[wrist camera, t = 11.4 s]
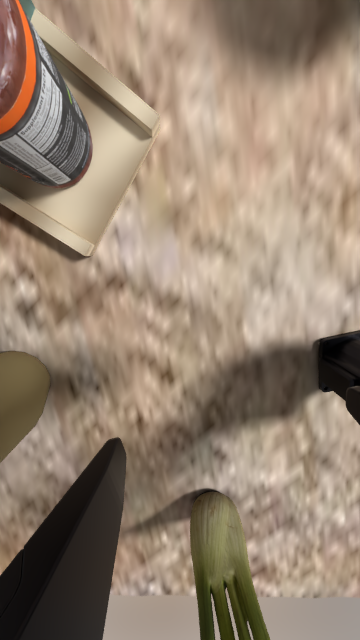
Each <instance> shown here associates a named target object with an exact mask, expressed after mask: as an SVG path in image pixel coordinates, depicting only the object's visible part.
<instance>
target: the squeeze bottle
mask: <svg viewBox="0 0 360 640" xmlns="http://www.w3.org/2000/svg"><path fill="white" fill-rule="evenodd" d="M49 388H50V375H49V373H48V371H47V369H46V367H45V366H44V365H43V364H42V363H41V362H40V361H39V360H38V359H37V358H36V357H33V356H31V355H29V354H27V353H25V352H17V351H8V352H3V353H0V463H1V462H2V460H3V459H4V458H5V457H6V456H7V455H8V454H9V453H10V452H11V451H12V450H13V449H14V448H15V447H16V446H17V445H18V443H19V442H20V441H21V440H22V439H23V438H24V437H25V436H26V435H27V434H28V433H29V432H30V431H31V430H32V429H33V428H34V427H35V425H36V423H37V422H38V420H39V418H40V416H41V414H42V412H43V409H44V405H45V402H46V398H47V395H48V391H49Z"/></svg>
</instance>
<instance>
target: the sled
mask: <svg viewBox="0 0 360 640" xmlns="http://www.w3.org/2000/svg"><path fill="white" fill-rule="evenodd" d="M19 1H20V3H21V5H22V7H23V9H24V11H25V12H26V14H27V16H28V17H29V19H30V21H31V23H32V24H33V26H34V28H35V30H36V31H37V33H38V35H39V37H40V39H41V40H42V42H43V44H44V45H45V47H46V49H47V51H48V52H49V54H50V56H51V57H52V59H53V61H54V63H55V65H56V66H57V68H58V70H59V72H60V74H61V75H62V77H63V79H64V81H65V82H66V84H67V86H68V88H69V89H70V91H71V93H72V95H73V96H74V98H75V100H76V102H77V103H78V105H79V107H80V109H81V111H82V112H83V115H84V117H85V119H86V121H87V123H88V126H89V129H90V133H91V137H92V144H93V154H92V160H91V163H90V166H89V168H88V170H87V172H86V173H85V175H84V176H83V178H82V179H81V180H80V181H78V182H77V183H75V184H74V185H71V186H68V187H65V188H52V187H47V186H44V185H41V184H39V183H36V182H34V181H32V180H30V179H28V178H26V177H25V176H23V175H21V174H20V173H18V172H16V171H14V170H12V169H11V168H9V167H7V166H5V165H4V164H2V163H0V203H1V204H3V205H4V206H6V207H7V208H9V209H11V210H12V211H14V212H15V213H17V214H19V215H20V216H22V217H23V218H25V219H27V220H28V221H30V222H31V223H33V224H34V225H36V226H38V227H39V228H41V229H42V230H44V231H46V232H47V233H49V234H50V235H52V236H54V237H55V238H57V239H58V240H60V241H62V242H63V243H65V244H66V245H68V246H70V247H71V248H73V249H74V250H76V251H77V252H79V253H81V254H82V255H84V256H93V254H94V252H95V250H96V248H97V246H98V244H99V243H100V241H101V239H102V237H103V235H104V233H105V232H106V230H107V228H108V226H109V224H110V222H111V220H112V219H113V217H114V215H115V213H116V211H117V209H118V207H119V206H120V204H121V202H122V200H123V198H124V196H125V195H126V193H127V191H128V189H129V187H130V185H131V183H132V182H133V180H134V178H135V176H136V174H137V172H138V170H139V169H140V167H141V165H142V163H143V161H144V159H145V158H146V156H147V154H148V152H149V150H150V148H151V146H152V145H153V143H154V141H155V139H156V137H157V135H158V133H159V132H160V115H159V114H158V113H157V112H155V111H154V110H153V109H152V108H151V107H150V106H148V105H147V104H146V103H145V102H144V101H143V100H141V99H140V98H139V97H138V96H137V95H136V94H134V93H133V92H132V91H131V90H130V89H129V88H128V87H126V86H125V85H124V84H123V83H122V82H121V81H119V80H118V79H117V78H116V77H115V76H114V75H112V74H111V73H110V72H109V71H108V70H107V69H105V68H104V67H103V66H102V65H101V64H100V63H98V62H97V61H96V60H95V59H94V58H93V57H92V56H90V55H89V54H88V53H87V52H86V51H85V50H83V49H82V48H81V47H80V46H79V45H78V44H76V43H75V42H74V41H73V40H72V39H71V38H69V37H68V36H67V35H66V34H65V33H64V32H62V31H61V30H60V29H59V28H58V27H57V26H55V25H54V24H53V23H52V22H51V21H50V20H49V19H47V18H46V17H45V16H44V15H43V14H42V13H40V12H39V11H38V10H37V9H36V8H35V7H34V5H33V3H32V1H31V0H19Z"/></svg>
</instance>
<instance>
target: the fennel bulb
mask: <svg viewBox="0 0 360 640" xmlns="http://www.w3.org/2000/svg"><path fill="white" fill-rule="evenodd" d="M190 541H191V555H192V561H193V569H194V576H195V584H196V593H197V600H198V610H199V625H200V637H201V640H215V633H214V621H213V611H212V602H211V593H212V596H213V600H214V606H215V611H216V616H217V622H218V626H219V632H220V637H221V638H220V639H221V640H235V636H234V631H233V627H232V622H231V617H230V613H229V608H228V603H227V598H226V593H225V589H226V587H227V591H228V594H229V598H230V602H231V607H232V611H233V615H234V619H235V623H236V628H237V632H238V637H239V640H251V637H250V634H249V630H248V625H247V621H248V622H249V625H250V628H251V631H252V635H253V639H254V640H270V637H269V634H268V632H267V629H266V625H265V623H264V620H263V616H262V613H261V610H260V606H259V603H258V600H257V596H256V593H255V590H254V586H253V582H252V578H251V573H250V567H249V561H248V555H247V548H246V542H245V537H244V532H243V528H242V524H241V520H240V517H239V514H238V511H237V509H236V506H235V504H234V503H233V501H232V500H231V499H230V498H229V497H227V496H225V495H224V494H221V493H219V492H207V493H204V494H201V495H200V496H199V497H198V498H197V499H196V500H195V502H194V504H193V507H192V512H191V521H190Z"/></svg>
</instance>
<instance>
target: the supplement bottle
mask: <svg viewBox="0 0 360 640" xmlns="http://www.w3.org/2000/svg"><path fill="white" fill-rule="evenodd" d="M92 154H93V144H92V137H91V133H90V129H89V126H88V123H87V121H86V119H85V117H84V115H83V112H82V111H81V109H80V107H79V105H78V103H77V102H76V100H75V98H74V96H73V95H72V93H71V91H70V89H69V88H68V86H67V84H66V82H65V81H64V79H63V77H62V75H61V74H60V72H59V70H58V68H57V66H56V65H55V63H54V61H53V59H52V57H51V56H50V54H49V52H48V51H47V49H46V47H45V45H44V44H43V42H42V40H41V39H40V37H39V35H38V33H37V31H36V30H35V28H34V26H33V24H32V23H31V21H30V19H29V17H28V16H27V14H26V12H25V11H24V9H23V7H22V5H21V3H20V1H19V0H0V163H2V164H4V165H5V166H7V167H9V168H11V169H12V170H14V171H16V172H18V173H20V174H21V175H23V176H25V177H26V178H28V179H30V180H32V181H34V182H36V183H39V184H41V185H44V186H47V187H52V188H65V187H68V186H71V185H74V184H75V183H77V182H78V181H80V180H81V179H82V178H83V176H84V175H85V173H86V172H87V170H88V168H89V166H90V163H91V160H92Z"/></svg>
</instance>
